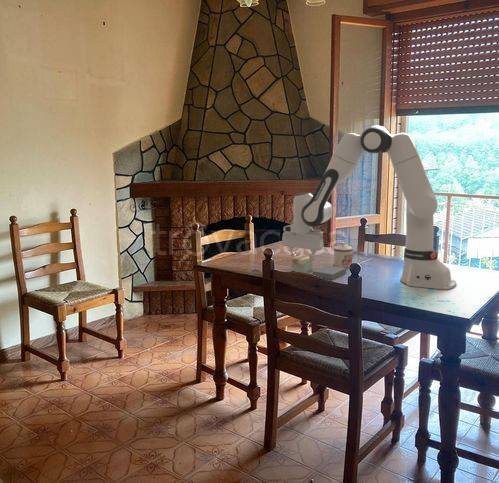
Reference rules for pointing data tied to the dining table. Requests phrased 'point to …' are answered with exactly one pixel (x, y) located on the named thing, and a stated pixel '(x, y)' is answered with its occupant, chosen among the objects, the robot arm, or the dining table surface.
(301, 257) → the lid board
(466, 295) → the dining table surface
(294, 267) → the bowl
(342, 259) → the teacup with lid
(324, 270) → the trivet
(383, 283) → the dining table surface
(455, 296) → the dining table surface
